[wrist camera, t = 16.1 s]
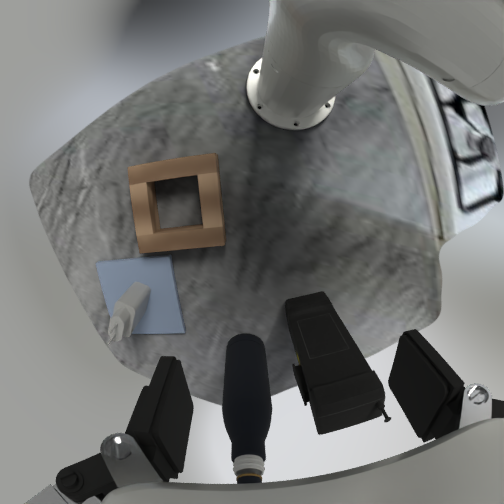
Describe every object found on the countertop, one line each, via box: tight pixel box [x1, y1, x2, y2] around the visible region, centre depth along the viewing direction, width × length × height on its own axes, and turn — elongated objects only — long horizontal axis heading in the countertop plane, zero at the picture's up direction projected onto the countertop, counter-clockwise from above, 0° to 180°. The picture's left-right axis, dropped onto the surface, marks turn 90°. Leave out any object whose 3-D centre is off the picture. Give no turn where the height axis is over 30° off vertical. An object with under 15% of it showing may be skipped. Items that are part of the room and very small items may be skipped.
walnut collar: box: [128, 153, 226, 253], centre depth 36 cm, size 12×12×4 cm
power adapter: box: [107, 282, 151, 345], centre depth 35 cm, size 3×5×12 cm, turn 158°
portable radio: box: [285, 292, 391, 435], centre depth 31 cm, size 8×6×25 cm
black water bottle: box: [222, 334, 272, 484], centre depth 30 cm, size 6×6×30 cm
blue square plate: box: [96, 255, 186, 334], centre depth 41 cm, size 13×13×1 cm
